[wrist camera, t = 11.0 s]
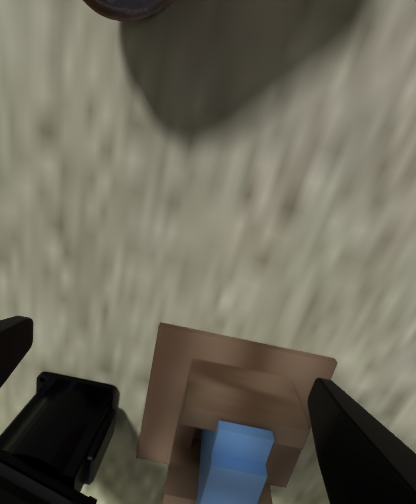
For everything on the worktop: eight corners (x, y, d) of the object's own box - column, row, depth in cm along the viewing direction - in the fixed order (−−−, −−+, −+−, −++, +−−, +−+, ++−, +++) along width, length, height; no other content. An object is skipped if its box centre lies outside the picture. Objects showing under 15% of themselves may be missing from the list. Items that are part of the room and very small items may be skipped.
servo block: (197, 449, 23) (189, 539, 17) (219, 366, 21) (218, 440, 15) (234, 456, 23) (239, 549, 17) (261, 375, 21) (276, 452, 15)
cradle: (137, 452, 24) (117, 519, 19) (160, 322, 20) (141, 367, 16) (284, 481, 24) (299, 556, 20) (334, 358, 20) (369, 414, 16)
